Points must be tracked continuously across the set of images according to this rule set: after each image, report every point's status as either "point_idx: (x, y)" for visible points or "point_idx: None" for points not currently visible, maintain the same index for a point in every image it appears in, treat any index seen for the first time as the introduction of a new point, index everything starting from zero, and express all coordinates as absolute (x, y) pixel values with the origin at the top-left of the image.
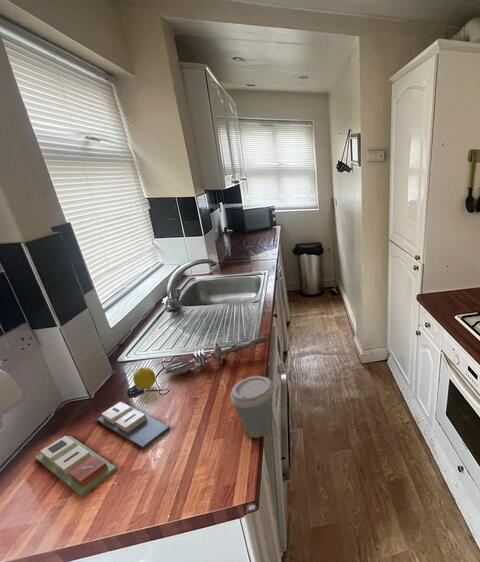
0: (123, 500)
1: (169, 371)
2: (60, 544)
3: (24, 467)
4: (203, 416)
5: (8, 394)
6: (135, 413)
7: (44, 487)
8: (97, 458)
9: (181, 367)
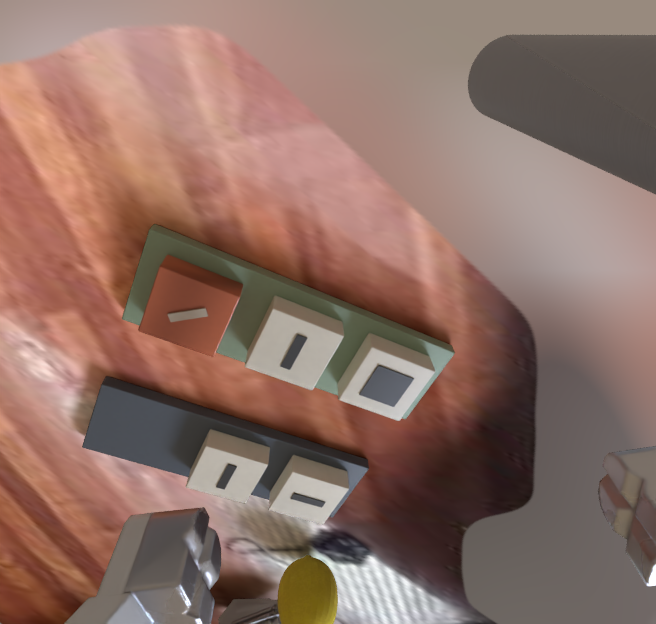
0: None
1: (272, 608)
2: (50, 58)
3: (470, 321)
4: (16, 476)
5: None
6: (224, 489)
7: (329, 257)
8: (187, 346)
9: (239, 621)
